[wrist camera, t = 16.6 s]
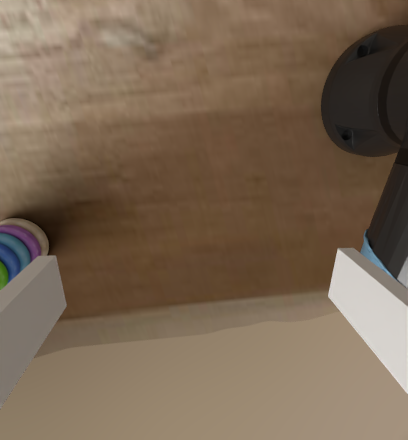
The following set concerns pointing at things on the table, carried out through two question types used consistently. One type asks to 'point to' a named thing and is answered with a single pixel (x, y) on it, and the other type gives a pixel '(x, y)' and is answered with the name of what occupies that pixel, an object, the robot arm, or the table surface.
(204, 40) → the table surface
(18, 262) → the stacking toy
